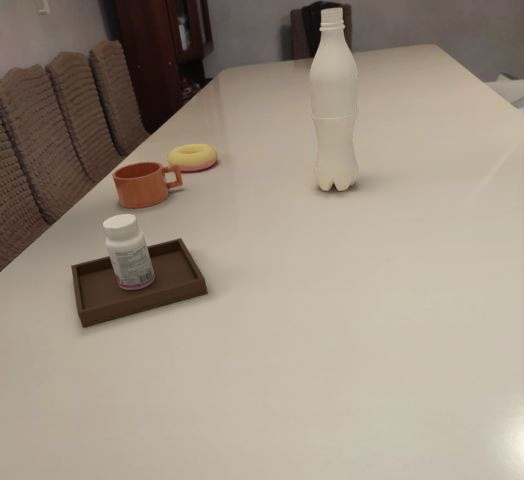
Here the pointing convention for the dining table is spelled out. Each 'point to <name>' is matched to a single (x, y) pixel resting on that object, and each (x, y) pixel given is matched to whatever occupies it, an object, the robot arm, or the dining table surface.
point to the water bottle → (334, 104)
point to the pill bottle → (128, 252)
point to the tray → (132, 301)
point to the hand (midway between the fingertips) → (6, 20)
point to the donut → (193, 157)
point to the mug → (144, 183)
